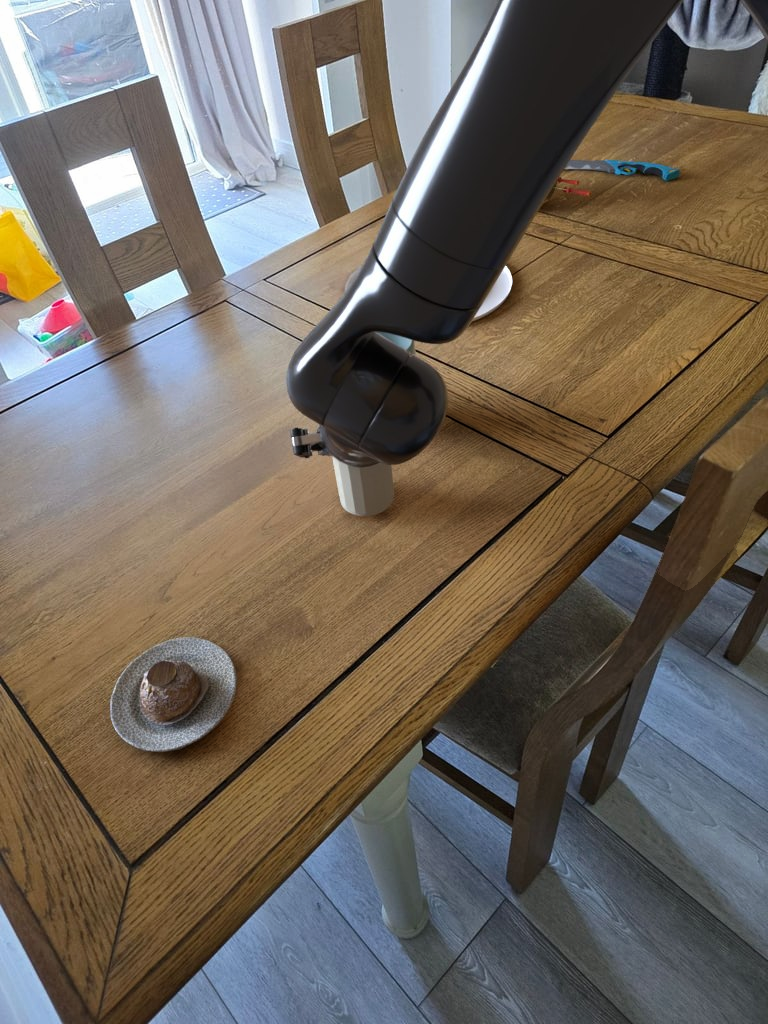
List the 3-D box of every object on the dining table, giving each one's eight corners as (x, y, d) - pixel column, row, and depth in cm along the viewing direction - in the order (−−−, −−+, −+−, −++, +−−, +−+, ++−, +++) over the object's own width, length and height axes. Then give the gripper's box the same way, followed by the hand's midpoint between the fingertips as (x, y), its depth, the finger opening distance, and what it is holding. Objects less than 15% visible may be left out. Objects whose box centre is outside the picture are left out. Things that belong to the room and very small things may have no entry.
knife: (499, 168, 153) (499, 160, 151) (507, 158, 155) (507, 151, 154) (675, 182, 138) (677, 174, 137) (681, 171, 140) (683, 163, 139)
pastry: (91, 699, 67) (72, 674, 64) (194, 623, 73) (181, 596, 69) (156, 783, 61) (138, 760, 58) (264, 692, 66) (253, 667, 63)
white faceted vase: (398, 480, 84) (387, 369, 73) (388, 518, 80) (375, 406, 68) (346, 476, 85) (328, 367, 74) (334, 514, 81) (313, 403, 70)
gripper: (433, 367, 62) (414, 397, 79) (274, 393, 61) (289, 418, 78) (447, 450, 62) (426, 463, 79) (289, 477, 61) (301, 484, 78)
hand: (358, 440), depth 78 cm, fingers closed on white faceted vase, 6 cm apart
